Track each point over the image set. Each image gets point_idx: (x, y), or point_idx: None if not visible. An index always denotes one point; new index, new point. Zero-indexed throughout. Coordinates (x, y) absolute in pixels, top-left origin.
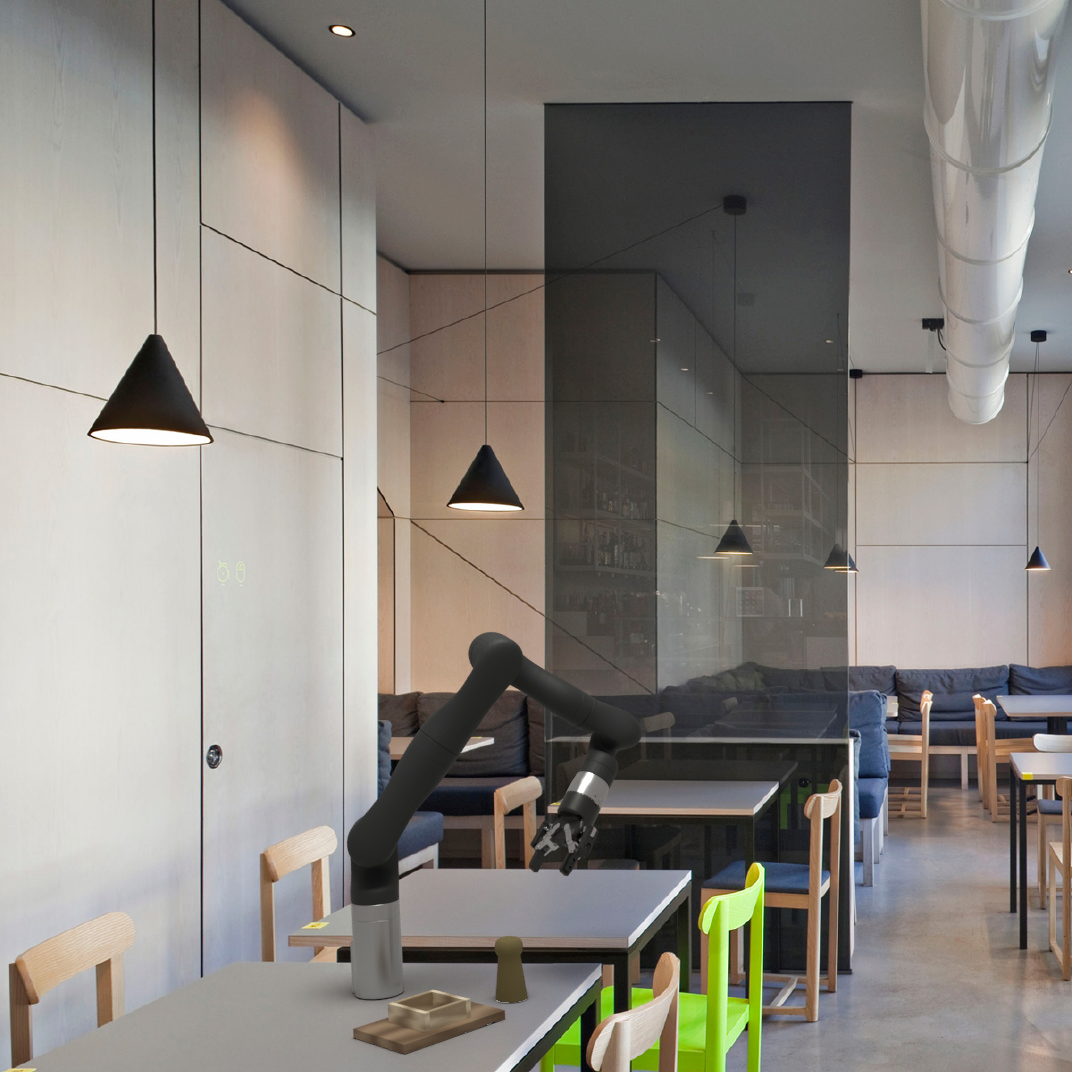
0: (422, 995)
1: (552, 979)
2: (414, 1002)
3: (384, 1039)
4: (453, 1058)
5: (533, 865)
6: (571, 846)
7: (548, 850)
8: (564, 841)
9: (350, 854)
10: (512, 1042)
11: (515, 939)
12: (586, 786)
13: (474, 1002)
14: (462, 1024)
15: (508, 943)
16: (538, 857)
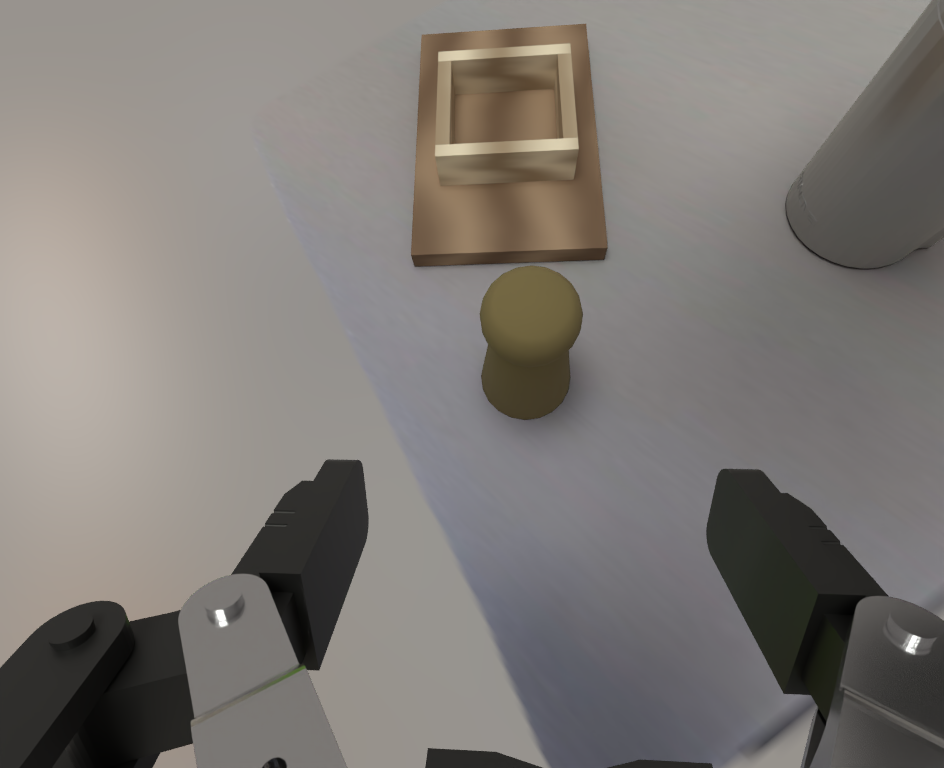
0: (561, 114)
1: (576, 585)
2: (559, 104)
3: (483, 32)
4: (334, 86)
5: (730, 498)
6: (228, 651)
7: (809, 760)
8: (429, 763)
9: None
10: (296, 188)
11: (496, 307)
12: None
13: (520, 250)
14: (417, 149)
15: (497, 279)
16: (772, 574)
